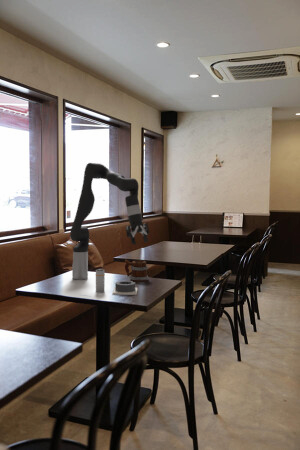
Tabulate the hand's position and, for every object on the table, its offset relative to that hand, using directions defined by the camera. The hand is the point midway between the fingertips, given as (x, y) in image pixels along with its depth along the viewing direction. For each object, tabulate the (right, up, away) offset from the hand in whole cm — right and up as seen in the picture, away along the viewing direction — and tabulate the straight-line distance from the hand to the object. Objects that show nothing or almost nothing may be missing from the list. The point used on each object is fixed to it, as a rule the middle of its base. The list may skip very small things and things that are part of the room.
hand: (140, 243), depth 225 cm
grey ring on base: (-8, -27, +4) cm, 29 cm away
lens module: (-22, -27, +4) cm, 35 cm away
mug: (-3, -25, +35) cm, 43 cm away
